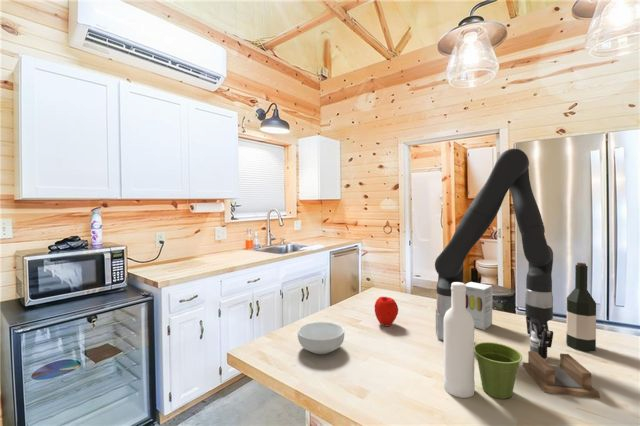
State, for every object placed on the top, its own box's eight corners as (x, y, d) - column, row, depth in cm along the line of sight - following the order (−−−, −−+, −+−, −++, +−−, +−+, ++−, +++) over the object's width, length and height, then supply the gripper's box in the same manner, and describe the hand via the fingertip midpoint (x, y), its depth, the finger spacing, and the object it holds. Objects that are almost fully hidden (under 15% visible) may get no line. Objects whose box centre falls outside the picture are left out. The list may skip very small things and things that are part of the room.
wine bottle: (602, 353, 106) (603, 265, 105) (574, 351, 108) (575, 265, 107) (586, 342, 114) (587, 261, 113) (560, 340, 116) (561, 260, 115)
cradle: (544, 392, 85) (544, 372, 85) (522, 365, 99) (522, 348, 99) (599, 397, 82) (599, 377, 82) (569, 369, 96) (569, 352, 96)
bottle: (438, 382, 91) (438, 280, 90) (464, 380, 91) (464, 279, 90) (452, 399, 83) (452, 288, 82) (480, 397, 83) (480, 286, 82)
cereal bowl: (351, 343, 117) (350, 325, 116) (334, 364, 102) (333, 343, 101) (310, 336, 124) (310, 318, 124) (289, 355, 109) (288, 335, 108)
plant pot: (466, 378, 92) (466, 341, 92) (508, 380, 91) (508, 342, 91) (483, 404, 81) (483, 361, 80) (531, 406, 79) (532, 363, 79)
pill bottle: (544, 354, 106) (544, 330, 105) (549, 361, 101) (549, 336, 101) (528, 352, 107) (528, 329, 107) (532, 359, 103) (532, 334, 102)
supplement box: (461, 323, 133) (460, 285, 133) (469, 318, 140) (469, 281, 139) (484, 330, 126) (484, 289, 126) (493, 324, 133) (493, 285, 132)
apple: (401, 322, 136) (400, 295, 135) (393, 330, 127) (393, 301, 127) (379, 318, 141) (379, 292, 141) (371, 326, 133) (370, 297, 132)
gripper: (517, 296, 111) (517, 343, 112) (536, 309, 97) (536, 363, 98) (541, 297, 110) (540, 344, 110) (563, 311, 96) (563, 365, 96)
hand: (538, 353), depth 104 cm, fingers closed on pill bottle, 4 cm apart
